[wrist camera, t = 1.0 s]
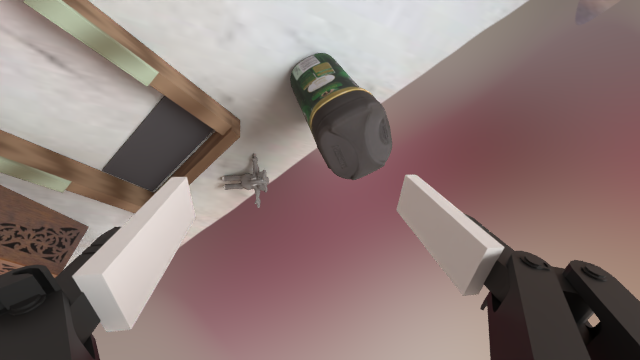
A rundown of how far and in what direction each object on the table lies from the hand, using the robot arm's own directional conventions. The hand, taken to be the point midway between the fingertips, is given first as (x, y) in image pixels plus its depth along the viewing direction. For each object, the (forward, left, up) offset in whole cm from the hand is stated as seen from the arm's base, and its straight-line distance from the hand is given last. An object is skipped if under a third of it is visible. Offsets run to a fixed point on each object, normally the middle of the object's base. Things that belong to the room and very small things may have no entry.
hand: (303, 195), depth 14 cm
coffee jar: (+7, +4, -26) cm, 27 cm away
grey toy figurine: (+11, -17, -26) cm, 33 cm away
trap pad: (-3, -21, -26) cm, 34 cm away
